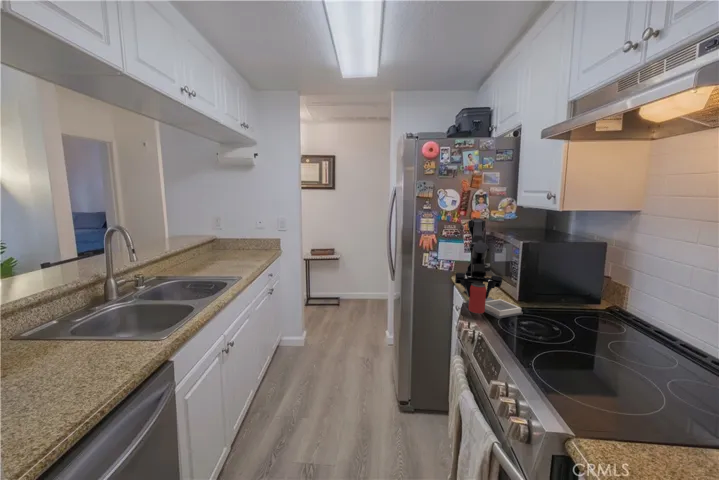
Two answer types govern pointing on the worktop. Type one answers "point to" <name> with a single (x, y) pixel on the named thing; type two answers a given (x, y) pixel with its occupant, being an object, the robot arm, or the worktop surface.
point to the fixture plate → (501, 308)
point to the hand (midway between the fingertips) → (477, 297)
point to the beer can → (477, 298)
